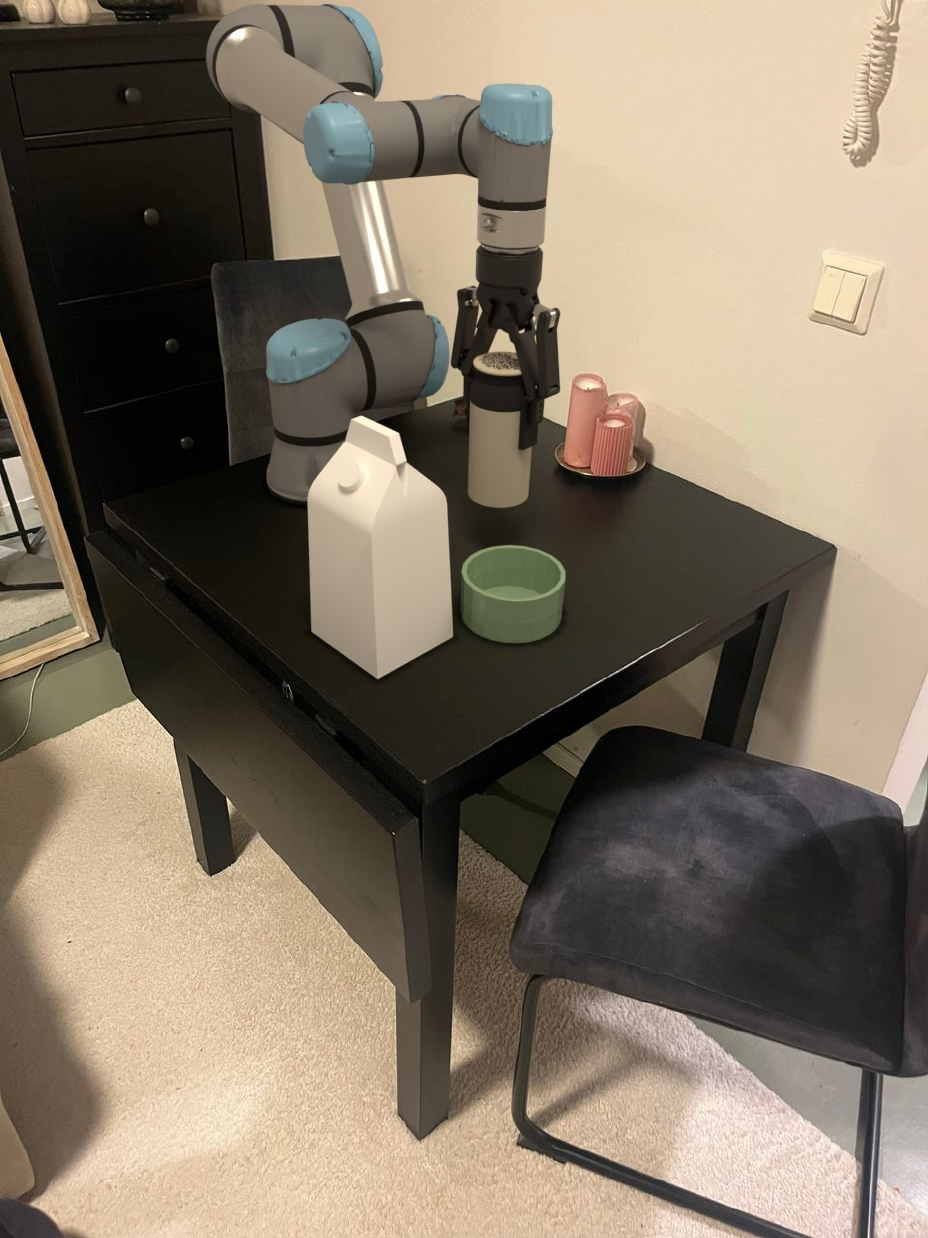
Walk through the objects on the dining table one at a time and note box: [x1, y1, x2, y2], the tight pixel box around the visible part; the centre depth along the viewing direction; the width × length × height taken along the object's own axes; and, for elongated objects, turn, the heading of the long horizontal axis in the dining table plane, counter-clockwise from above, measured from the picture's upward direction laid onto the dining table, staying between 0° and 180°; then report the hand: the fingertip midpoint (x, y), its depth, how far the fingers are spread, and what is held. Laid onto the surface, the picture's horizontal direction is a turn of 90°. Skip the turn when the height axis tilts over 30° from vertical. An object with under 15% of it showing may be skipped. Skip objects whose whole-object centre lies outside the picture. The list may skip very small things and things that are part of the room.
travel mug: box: [467, 351, 533, 509], centre depth 113 cm, size 8×8×18 cm
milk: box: [307, 415, 454, 680], centre depth 98 cm, size 12×12×26 cm
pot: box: [460, 544, 567, 644], centre depth 108 cm, size 12×12×6 cm
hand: (500, 435), depth 114 cm, fingers closed on travel mug, 8 cm apart
